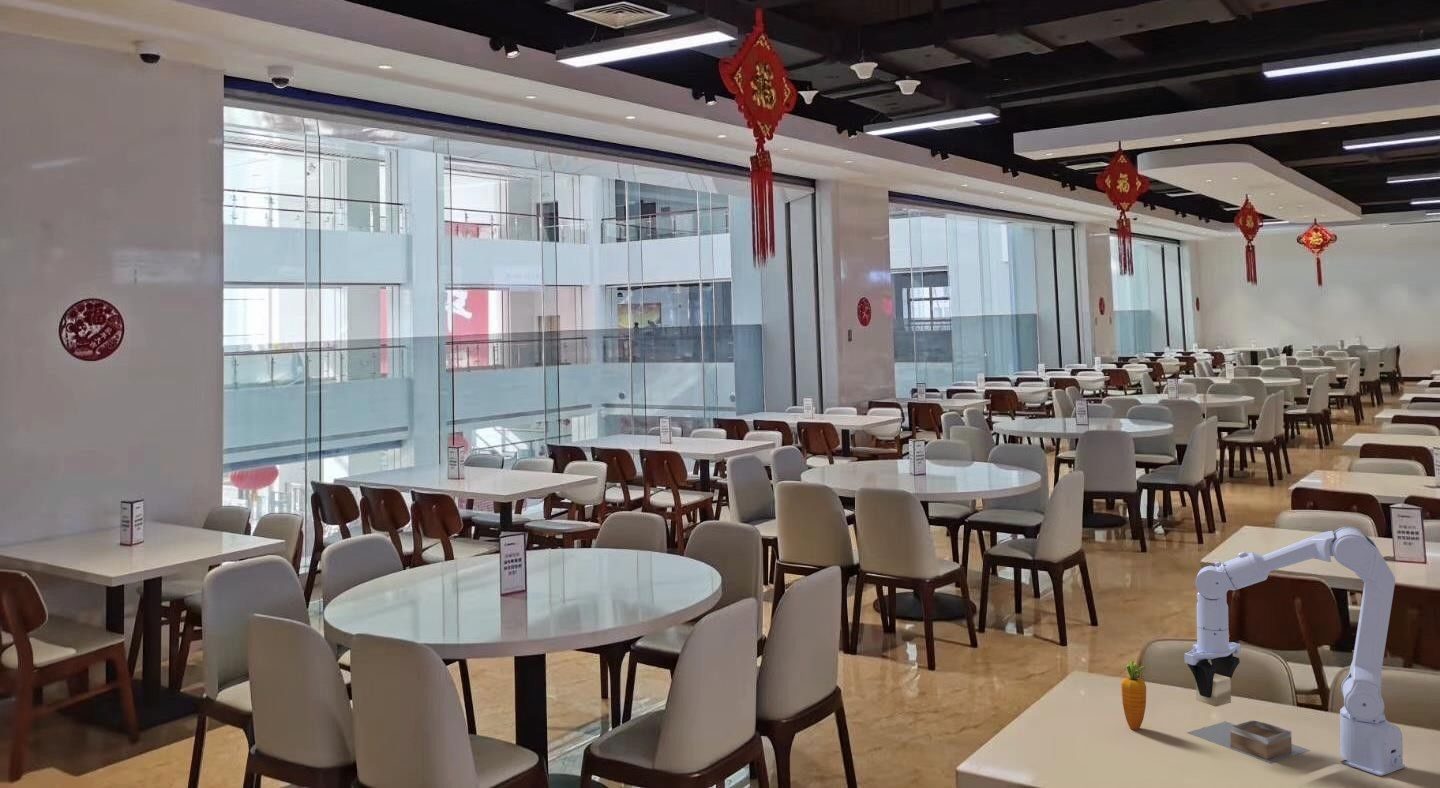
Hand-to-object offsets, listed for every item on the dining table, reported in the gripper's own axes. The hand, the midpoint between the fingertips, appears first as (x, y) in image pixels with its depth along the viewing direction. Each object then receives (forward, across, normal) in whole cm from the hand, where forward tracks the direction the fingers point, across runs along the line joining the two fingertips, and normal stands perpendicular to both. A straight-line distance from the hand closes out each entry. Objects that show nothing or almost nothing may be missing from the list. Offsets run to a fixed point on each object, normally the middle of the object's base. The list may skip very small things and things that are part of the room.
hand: (1213, 693), depth 199 cm
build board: (+10, -3, +5) cm, 11 cm away
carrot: (+10, +10, -11) cm, 18 cm away
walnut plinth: (+10, -2, +9) cm, 13 cm away
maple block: (+2, 0, 0) cm, 2 cm away
